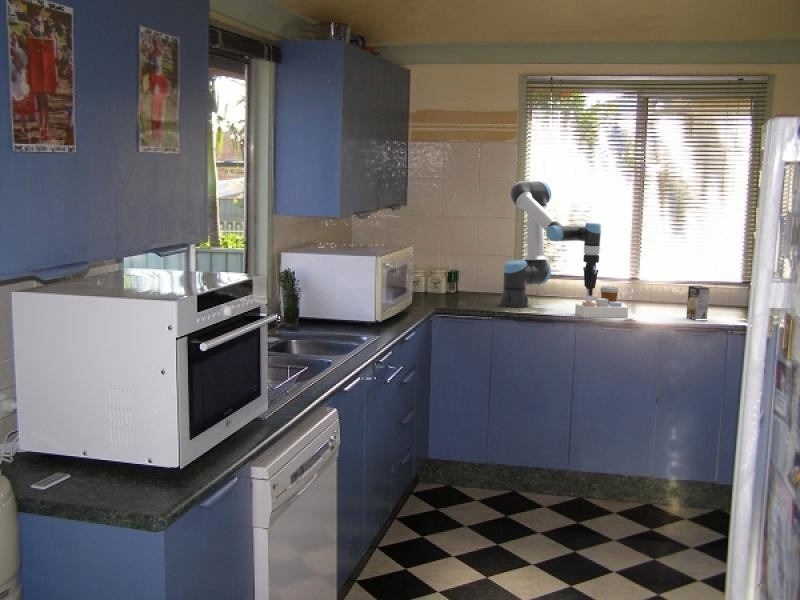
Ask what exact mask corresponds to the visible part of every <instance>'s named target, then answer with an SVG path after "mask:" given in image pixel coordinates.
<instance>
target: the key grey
mask: <svg viewBox="0 0 800 600" xmlns="http://www.w3.org/2000/svg"><path fill="white" fill-rule="evenodd" d="M595 304H596V306H599V307H601V306H608V299H605V298H597V297H596V298H595Z"/></svg>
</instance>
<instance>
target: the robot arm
mask: <svg viewBox="0 0 800 600" xmlns="http://www.w3.org/2000/svg"><path fill="white" fill-rule="evenodd" d="M510 199H511V201H512V202H513V204H514V205H515V206H516V207H517V208H518V209H521V210H523V211H524V212H525V213H526V215H527V216H526V220H527V221H526V225H527V227H526V228H527V229H526V233H527V237H526V242H527V243H526V245H527V246H526V248H527V249H526V251H527V253H526V256H525V258H524V260H523V259H514V260H510V261H507V262H506V263H504V268H503V290H502V293H501V295H500V298H499V300H498V301H499V302H498V303H499V304H500V305H499V304H498V305H499V306H501V305H503V306H502V307H506V306H509V307H508V308H525V307H524V306H527V307H529V300H528V296H527V292H526V291H527V290H526V287H527V286H528V285H529V286H531V285H541V284H545V283H547V282H548V281H549V280H550V278H551V275H552V268H551V266H550V263H548V262H547V258H546V257H545V255H544V254H545V253H544V251H545V249H544V245H545V244H544V238H545V237H544V235H546V238H547V240H548V241H551V242H573V241H574V242H576V241H577V242H584V243H583V244H584V245H583V254H584V255H583V262H584V263H585V266H583V279H584V280H583V281H584V282H583V283H584V285H583V286H584V287H585V289H586V290H585V292H586V293H585V302H593V291H594V289H596V285H597V278H598V274H599V269H597V263H598V264H599V262H600V255H599V254H600V250H601V236H602V234H601V233H602V229H601V227H602V226H601V223H600V222H586V223H585V225H579V224H571V225H563V224H561V223H560V222H559V221H558V220H557V219H556V218H555V217H554V216H552V214H550V213H549V212H548V211H547V210H546V208H547V207H548V205H547V204H548V203H550V202H551V201H550V200H551V199H552V190H551V187H550V185H548V184H547V182H544V181H540V180H539V181H537V180H536V181H535V180H533V181H531V180H529V181H528V180H527V181H526V180H522V181H518V182H515V184H514V185H513V186H512V187H511V189H510ZM544 231H545V232H546V233H544Z"/></svg>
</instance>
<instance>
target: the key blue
mask: <svg viewBox="0 0 800 600" xmlns="http://www.w3.org/2000/svg"><path fill="white" fill-rule="evenodd" d="M609 305H610V306H621V305H622V302H619V301H616V302H609Z"/></svg>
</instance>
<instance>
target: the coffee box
mask: <svg viewBox="0 0 800 600" xmlns="http://www.w3.org/2000/svg"><path fill="white" fill-rule="evenodd" d="M710 289H711V288H710V287H706V286H701V285H689V286H688V290H687V291H688V292H687V293H688V294H687V303H686V315H685V316H686V317H689V318H693V319H707V320H708V311H709V310H708V309H709V299H710V298H709V297H710ZM689 318H688V319H689ZM693 319H692V320H693Z"/></svg>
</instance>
